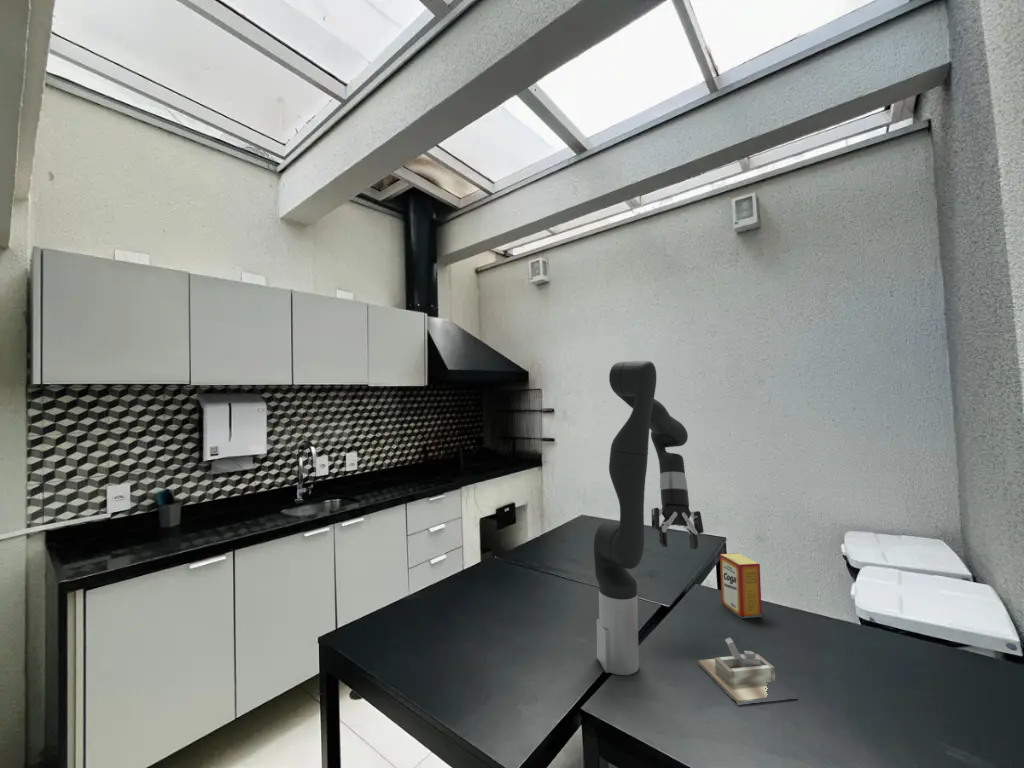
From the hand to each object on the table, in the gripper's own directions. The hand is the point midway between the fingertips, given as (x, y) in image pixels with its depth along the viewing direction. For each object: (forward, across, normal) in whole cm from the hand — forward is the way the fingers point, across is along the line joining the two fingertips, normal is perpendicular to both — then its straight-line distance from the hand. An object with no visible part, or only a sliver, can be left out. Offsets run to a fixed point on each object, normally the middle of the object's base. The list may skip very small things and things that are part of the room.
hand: (679, 548), depth 114 cm
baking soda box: (+16, +27, +17) cm, 36 cm away
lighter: (+27, +7, -12) cm, 30 cm away
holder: (+28, +7, -11) cm, 31 cm away
